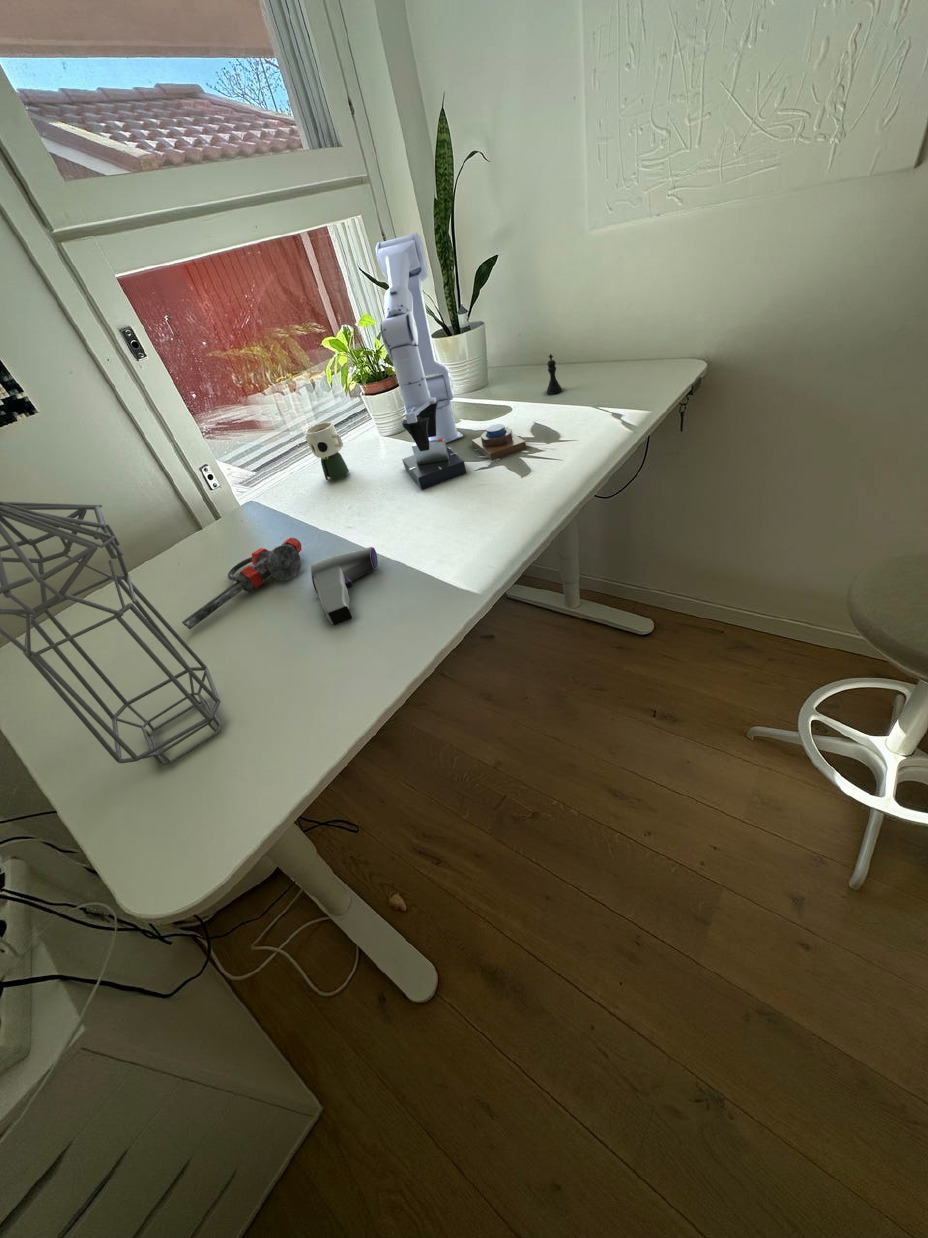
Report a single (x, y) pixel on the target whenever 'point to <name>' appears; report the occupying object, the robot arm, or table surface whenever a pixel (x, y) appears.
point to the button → (495, 430)
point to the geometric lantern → (43, 522)
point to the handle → (431, 452)
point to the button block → (498, 444)
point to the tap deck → (434, 470)
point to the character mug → (327, 449)
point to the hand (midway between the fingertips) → (428, 443)
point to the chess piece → (553, 378)
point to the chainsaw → (255, 575)
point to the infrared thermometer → (340, 580)
